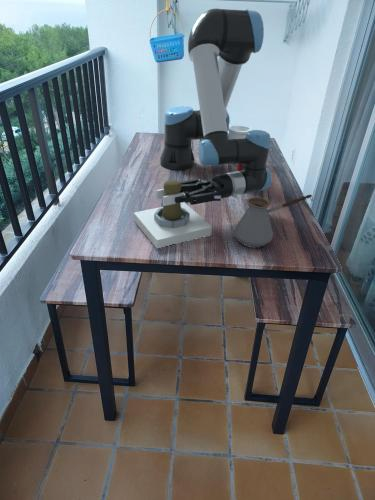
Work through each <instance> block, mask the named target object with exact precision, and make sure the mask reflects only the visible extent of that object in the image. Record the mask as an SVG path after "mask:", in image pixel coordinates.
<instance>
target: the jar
mask: <svg viewBox="0 0 375 500" xmlns="http://www.w3.org/2000/svg"><path fill="white" fill-rule="evenodd" d="M251 130H253V129H252V127H249V126H245V125H230V126H229V129H228V137H229V139H244V138H245V136H246V133H247V132H248V131H251ZM234 165H236V166H237V164H234Z"/></svg>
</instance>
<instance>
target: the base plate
mask: <svg viewBox="0 0 375 500" xmlns="http://www.w3.org/2000/svg"><path fill="white" fill-rule="evenodd" d="M162 212H163V206H161V207H156V208H155V207H154V208H150V209H145V210H140V211H136V212H133V221H134V222H135V224H136V225H137V226H138V228H139V229H140V230H141V232H143V234H144V235H145V236H146V238H148V240H149V241H150V242H151V244H152V245H153V246H154V248H155V249H156V250H159V249H158V248H160V249H162V248H161V247H164V248H166V247H165V246H168V247H170V246H169V245H172V244H176V245H178V244H177V243H180V244H182V243H181V242H184V243H186V242H185V241H187V242H190V241H189V240H191V241H194V240H193V239H195V240H197V239H196V238H199V239H201V238H200V237H203V238H205V237H204V236H207V237H210V236H209V235H211V236H212V233H213V226H212V225H210V223H208V222H207V221H206V220H205V219H204V218H203V217H202V216H200V215H199V213H197V212H196V211H195V210H194V209H193V208H191V207H190V206H189V205H188V204H187V203H186V202H182V203H181V212H182V217H181V218H179V219H176V220H168V219H165V218H164V217H163V216H162ZM172 246H173V245H172Z"/></svg>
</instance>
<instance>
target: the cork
mask: <svg viewBox="0 0 375 500" xmlns="http://www.w3.org/2000/svg"><path fill="white" fill-rule="evenodd" d="M180 182H181V181H179V180H176V179H167V180H166V181H164V183H163V188H162V189H164V191H165V196H167V195H173V194H178V193H179V192H180V191H181V184H180ZM162 205H163V204H162ZM162 207H163V212H162V216H163V217H164V218H165V219H168V220H176V219H179V218H181V217H182V212H181V203H176V204H171V205H166V206H164V205H163V206H162Z"/></svg>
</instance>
